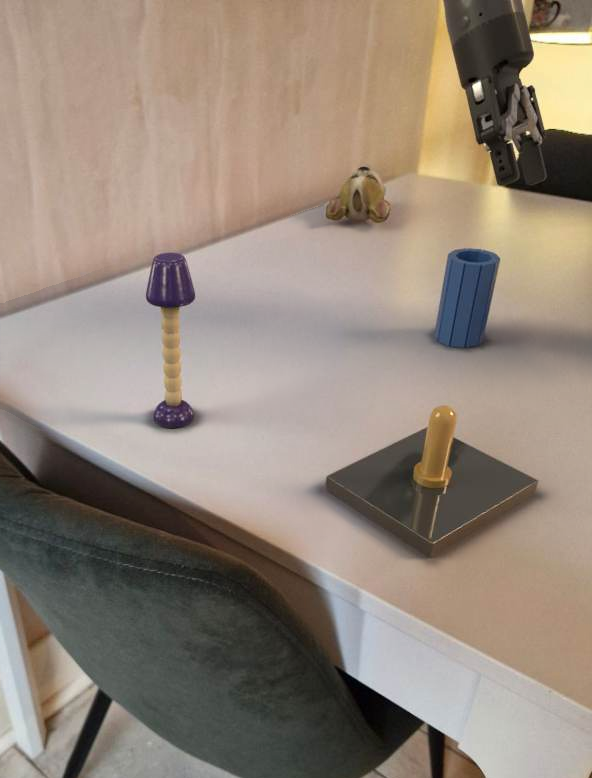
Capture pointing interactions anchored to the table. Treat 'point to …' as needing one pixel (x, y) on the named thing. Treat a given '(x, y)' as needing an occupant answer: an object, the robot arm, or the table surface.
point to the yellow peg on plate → (431, 486)
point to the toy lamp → (171, 332)
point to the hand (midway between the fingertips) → (523, 182)
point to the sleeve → (466, 297)
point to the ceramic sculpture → (361, 198)
